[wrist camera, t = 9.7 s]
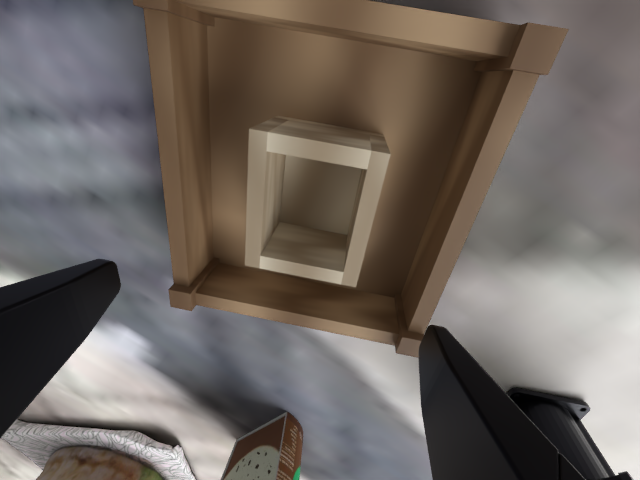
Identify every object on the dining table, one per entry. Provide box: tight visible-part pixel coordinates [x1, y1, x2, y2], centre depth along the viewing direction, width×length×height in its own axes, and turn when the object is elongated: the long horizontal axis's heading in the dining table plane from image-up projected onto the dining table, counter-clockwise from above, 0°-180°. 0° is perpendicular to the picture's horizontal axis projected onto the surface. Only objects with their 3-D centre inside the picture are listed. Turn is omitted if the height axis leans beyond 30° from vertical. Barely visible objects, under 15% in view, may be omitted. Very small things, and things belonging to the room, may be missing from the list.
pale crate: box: [245, 116, 391, 287], centre depth 16 cm, size 6×7×5 cm
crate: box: [133, 0, 569, 357], centre depth 17 cm, size 16×17×5 cm
